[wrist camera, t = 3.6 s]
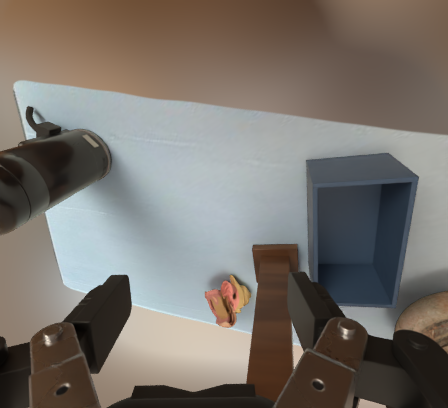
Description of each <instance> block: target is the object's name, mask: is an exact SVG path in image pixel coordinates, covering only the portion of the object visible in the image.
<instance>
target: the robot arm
mask: <svg viewBox="0 0 448 408" xmlns="http://www.w3.org/2000/svg"><path fill="white" fill-rule="evenodd" d="M32 115H33V108H32V107H29V106H28V107H27V110H26V119H27V122H28V123H29V125H30V126H31V127H32V128H33V129H34V130H35V131H36V138H33V139H30V140H26V141H23V142H20V143H19V144H18V147H15V148H11V149H7V150H4V151H0V235H3V234H7V233H9V232H11V231H13V230H15V229H17V228H18V227H20V226H21V225H23V224H25V223H27V222H28V221H30V220H32V219H33V218H35V217H37V216H38V215H40V214H42V213H43V212H45V211H47V210H48V209H50V208H52V207H53V206H55V205H57V204H59V203H60V202H62V201H64V200H65V199H67V198H69V197H70V196H72V195H74V194H75V193H77V192H79V191H80V190H82V189H84V188H86V187H87V186H89V185H91V184H92V183H94V182H96V181H98V180H100V179H102V178H104V177H105V176H106V175H107V174H108V173H109V171H110V169H111V155H110V152H109V150H108V148H107V146H106V144H105V143H104V142H103V141H102V139H101V138H100V137H98V136H97V135H96V134H94V133H93V132H91V131H88V130H85V129H75V130H72V131H69V130H63V131H61V127H59V126H57V125H55V124H53V123H50V122H45V123H40V124H36V123H35V121H34V120H33V117H32ZM287 306H288V312H289V315H290V317H291V320H292V323H293V325H294V328H295V330H296V333H297V335H298V338H299V341H300V343H301V346H302V348H303V351H304V353H303V355H302V357H301V358H300V360H299V362H298V364H297V366H296V367H295V369H294V371H293V372H292V374H291V376H290V378H289V379H288V381H287V383H286V385H285V386H284V388H283V390H282V392H281V393H280V395H279V397H278V399H277V401H276V402H274V401H272V400H270V399H268V398H265V397H263V396H259V395H256V393H255V385H254V384H224V385H220V386H216V387H212V388H209V389H205V390H201V391H197V392H190V391H186V390H182V389H177V388H173V387H169V386H165V385H155V386H135V387H134V390H133V393H132V396H131V397H130V398H126V399H124V400H121V401H119V402H117V403H114V404H112V405H111V406H109V407H107V408H358V405H359V401H360V398H361V399H365V400H368V401H372V402H376V403H379V404H383V405H386V407H387V408H448V353H447V352H446V351H445V350H444V349H443V348H442V347H441V346H440V345H439V344H438V343H437V342H435V341H434V340H433V339H431V338H430V337H428V336H426V335H424V334H422V333H419V332H416V331H413V330H406V329H402V330H398V331H396V332H395V333H394V334H393V340H389V339H384V338H379V337H375V336H371V335H368V333H367V331H366V329H365V328H364V327H363V326H362V325H361V324H359V323H358V322H356V321H354V320H351V319H348V318H346V316H345V315H344V314H343V312H342V311H341V309H340V308H339V307H338V305H337V304H336V302H335V301H334V300H333V298H332V297H331V296H330V294H329V293H328V291H327V290H326V288H325V287H323V286H322V285H320V284H319V283H318V282H311V281H310V279H309V278H308V276H307V274H306V273H305V272H289V275H288V294H287ZM131 307H132V302H131V293H130V284H129V277H128V276H127V275H111V276H110V277H109V278H108V279H107V280H106V282H105V283H104V284H103V285H99V286H98V287H96V288H94V289H93V290H91V291H90V292H89V293H88V294H87V295H86V296H85V297H84V299H83V300H82V301H81V302H80V303H79V305H78V306H76V307H75V308H74V309H73V311H72V312H71V313H70V314H69V315H68V316H67V317H66V318H65V319H64V321H63V322H61V323H56V324H52V325H50V326H47V327H45V328H43V329H42V330H40V331H39V332H37V333H36V334H35V335H34V336H33V337H32V339H31V341H30V342H28V343H24V344H20V345H16V346H11V347H7V345H6V340H5V338H3V337H0V408H28V407H30V408H101V406H100V403H99V400H98V396H97V393H96V390H95V387H94V384H93V381H92V377H91V374H98V373H99V372H100V370H101V368H102V366H103V364H104V362H105V360H106V359H107V357H108V355H109V353H110V351H111V349H112V348H113V346H114V344H115V342H116V340H117V338H118V336H119V334H120V333H121V331H122V329H123V327H124V325H125V323H126V322H127V320H128V318H129V316H130V313H131Z"/></svg>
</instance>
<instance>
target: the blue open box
mask: <svg viewBox="0 0 448 408" xmlns="http://www.w3.org/2000/svg"><path fill="white" fill-rule="evenodd" d="M306 164H307V213H308V263H309V272H310V279H311V282H318V283H319V284H320V285H322V286H323V287H325V288H326V290H327V291H328V293H329V294H330V296H331V297H332V298H333V300H334V301H335V302H336V304H337V305H338V306H356V307H379V308H396V304H397V298H398V292H399V287H400V281H401V275H402V270H403V264H404V258H405V253H406V247H407V241H408V236H409V230H410V224H411V219H412V213H413V207H414V201H415V196H416V190H417V184H418V179H419V177H418V176H417V175H416V174H415V173H413V172H412V171H411V170H409V169H408V168H407V167H406V166H404V165H403V164H402V163H401V162H399V161H398V160H397V159H395V158H394V157H393V156H392V155H390V154H389V153H382V154H371V155H359V156H348V157H336V158H325V159H314V160H306Z"/></svg>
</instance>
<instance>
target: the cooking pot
mask: <svg viewBox="0 0 448 408" xmlns="http://www.w3.org/2000/svg"><path fill="white" fill-rule="evenodd" d="M402 329H406V330H413V331H416V332H419V333H422V334H424V335H426V336H428V337H430V338H431V339H433V340H434V341H435V342H437V343H438V344H439V345H440V346H441V347H442V348H443V349H444V350H445V351H446V352H447V353H448V291H444V292H439V293H435V294H431V295H428V296H426V297H423V298H421V299H419V300H417V301H416V302H414V303H412V304H411V305H410V306H409V307H407V308H406V309H405V310H404V311H403V313H402V314H401V315H400V317H399V319H398V321H397V323H396V327H395V332H396V331H398V330H402ZM395 332H394V333H395Z"/></svg>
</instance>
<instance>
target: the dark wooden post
mask: <svg viewBox="0 0 448 408" xmlns="http://www.w3.org/2000/svg"><path fill="white" fill-rule="evenodd" d="M252 251H253V259H254V266H255V274H256V281H257V283H258V288H257V297H256V305H255V314H254V322H253V331H252V339H251V348H250V356H249V365H248V374H247V383H246V384H254V385H255V393H256V395H259V396H263V397H265V398H268V399H270V400H272V401H274V402H276V401H277V399H278V397H279V395H280V393H281V392H282V390H283V388H284V386H285V385H286V383H287V381H288V379H289V378H290V376H291V374H292V372H293V371H294V369H293V368H294V367H293V338H292V320H291V317H290V315H289V312H288V306H287V294H288V275H289V272H298V250H297V244H274V245H253V248H252Z"/></svg>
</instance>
